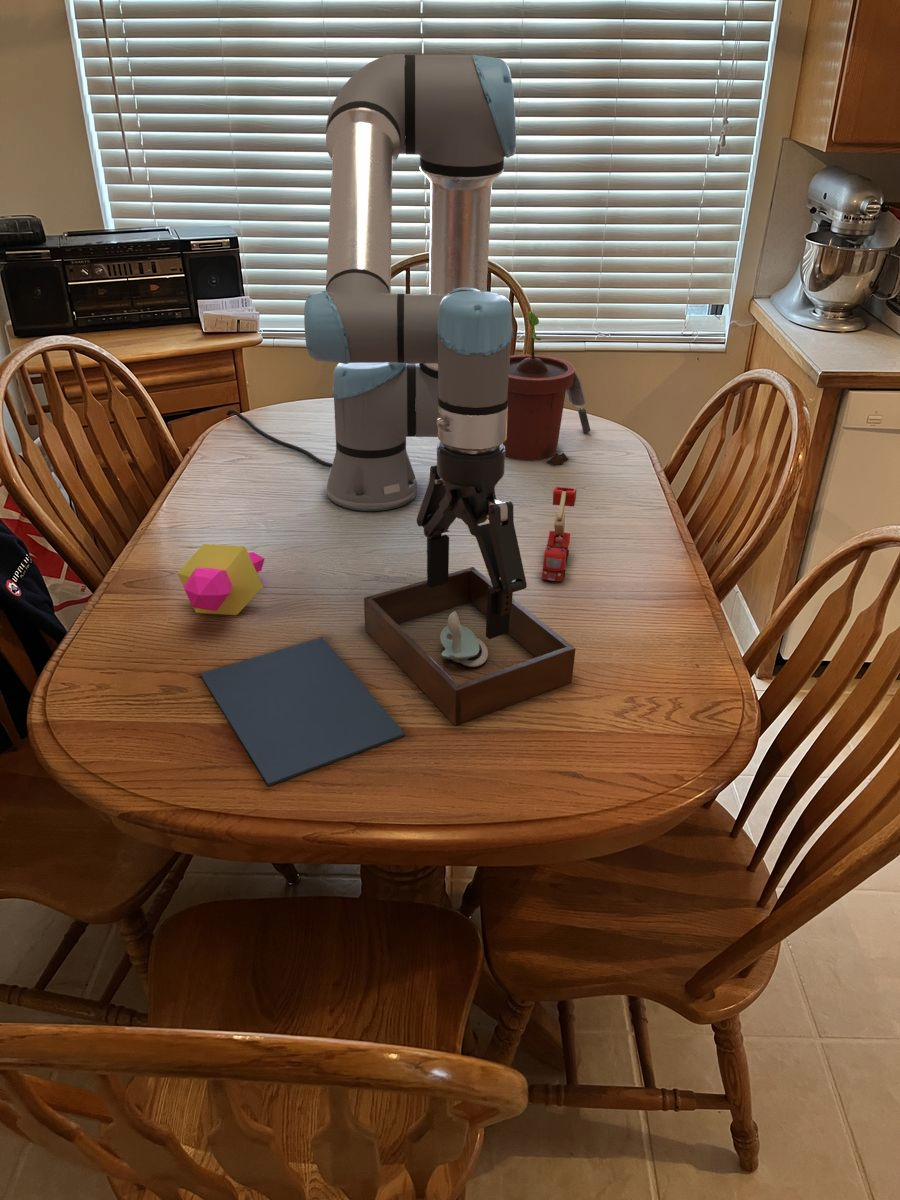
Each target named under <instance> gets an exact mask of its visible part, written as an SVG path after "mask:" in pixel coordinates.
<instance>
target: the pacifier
mask: <svg viewBox="0 0 900 1200" xmlns="http://www.w3.org/2000/svg"><path fill="white" fill-rule="evenodd" d="M439 636H440V637H439V639H440V644H441V646H442V647H443V649H444V650H442V651H441V657H442V658H443V659H446V660H451V661H452V662H453V663H456V664H462V665H463V666H466V667H468V668H477V667H480V666H482V665H483V664H484V663H486V661H487V660H488V657H489V649H488V647H487V645H486V643H485V642H484V641H482V640H481V639H480V638H478V637H477V636H476V634H475V633H474V632H473V630H471V628H469V627H468V626H465V625H463V624H461V622H460V618H459V615H458V613H457V611H453V612H451V613H450V614H449V615H448V618H447V625H446V626H445V627H444V628H442V630H441V632H440V635H439ZM448 636H450V637H451V639H449V638H448ZM480 652H481V653H480ZM479 653H480V656H479V657H478V658H476V659H473V660H472V659H471V658H474V657H477V656H478V655H479ZM470 659H471V660H470Z"/></svg>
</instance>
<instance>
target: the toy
mask: <svg viewBox="0 0 900 1200" xmlns="http://www.w3.org/2000/svg"><path fill="white" fill-rule="evenodd" d="M264 562H265V557H263V556H262V555H259V554H258V553H256V552H255V551H250V552H249V551H248V550H247V548H246V546H245V545H228V544H211V543H210V544H209V543H203V544H202V545H201V546H200V547H199V548H198V549H197V551H196V552H194V554H193V555H192V556H191V557H190V558H189V559H188V561H186V563H185V564H183V566H182V567H181V568H180V570H178V572H177V576H178V578H179V580H180V582H181V584H182V586H183V589H184V591H185V594H186V596H187V598H188V600H189V602H190V604H191V606H192V608H193V610H194V612H195V613H196V614H209V615H223V616H224V615H226V616H238V614H240V613H241V611H242V610H243V609H244V608H245V607H246V606H247V605H248V604H249V603H250V602H251V601H252V600H253V599H254V597H255V596H256V595H257V594H258V593H259V592H260V591H261V590H262V589H263V588H264V585H263V583H262V580H261V579H260V576H259V574H258V573H259V572H261V571H262V570H263V567H264Z"/></svg>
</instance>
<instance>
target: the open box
mask: <svg viewBox="0 0 900 1200" xmlns="http://www.w3.org/2000/svg"><path fill="white" fill-rule="evenodd" d="M491 586H493V585H492V583H491V580H490V578H488V577H487V576H486V575H484V574H483V573H482V572H481V571H479V570H478V569H477V568H476V567H474V566H470V567H467V568H464V569H461V570H457V571H454V572H453V571H452V572H450V573H448V583H445V584H442V585H438V586H435V587H431V588H430V587H428V586H427V579H425V580H422V581H418V582H415V583H411V584H407V585H403V586H400V587H397V588H394V589H390V590H386V591H383V592H380V593H376V594H372V595H369V596H365V597H363V609H364V631H365V632H366V633H367V634H368V635H369V636H370V637H371V638H372V639H373V641H375V643H377V644H378V646H380V648H381V649H382V650H383V651H384V652H385V653H386V654H387V655H388V657H390V658H391V659H392V660H393V662H394V663H395V664H396V665H397V666H398V667H399V668H400V669H401V670H402V671H403V672H404V674H406V675H407V677H408V678H410V680H411V681H412V682H413V683H414V684H415V685H416V686H417V687H418V688H419V689H420V690H421V691H422V692H423V694H424V695H425V696H426V697H428V699H429V700H430V701H431V702H432V703H433V704H434V706H436V707H437V708H438V709H439V710H440V712H441V713H442V714H443V715H444V716H445V717H446V718H447V719H448V720H449V721H450V722H451V723H452V724H453V725H454V726H459V725H461V724H463V723H467V722H470V721H472V720H475V719H477V718H480V717H483V716H485V715H488V714H490V713H493V712H496V711H498V710H501V709H503V708H506V707H509V706H512V705H515V704H517V703H520V702H523V701H526V700H528V699H530V698H533V697H536V696H539V695H541V694H544V693H547V692H550V691H552V690H554V689H557V688H560V687H563V686H566V685H568V684H571V683H573V675H574V666H575V656H576V647H575V646H573V645H572V644H571V643H569V642H568V641H567V640H566V639H565V638H564V637H562V636H561V635H559V634H558V633H557V632H556V631H554V630H553V629H552V628H551V627H550V626H548V624H546V623H544V622H543V621H542V620H540V619H539V618H538V617H537V616H536V615H534V613H533V612H531V611H529V610H528V609H527V608H525V606H523V605H522V604H521V603H519V601H517V600H516V599H515V598H514V597H512V611H511V613H510V620H509V633H507V634H508V635H509V636H510V637H511V638H512V639H513V640H514V641H515V642H517V643H518V644H519V645H520V646H522V648H523V649H525V650H526V651H527V652H529V654H531V655H532V656H533V657H534V658H531V659H528V660H525V661H523V662H519V663H517V664H514V665H512V666H509V667H505V668H502V669H501V670H500V669H499V670H498V671H495V672H494V671H493V672H491V673H489V674H485V675H483V676H480V677H477V678H474V679H472V680H468V681H466V682H463V683H460V684H458V683H457V682H456V681H455V680H454V679H453V678H452V677H451V675H449V674H448V673H447V672H446V671H445V670H444V669H443V668H442V667H441V666H440V665H439V664H438V663H437V662H436V661H435V660H434V659H433V658H432V657H431V656H430V655H429V654H428V653H427V652H426V651H425V650H424V648H422V647H421V646H420V645H419V644H418V643H417V642H416V641H415V640H414V639H413V638H412V637H411V636H410V635H409V634H408V633H407V632H406V631H405V630H404V629H403V628H402V627H401V626H400V625H399V624H401V623H405V622H408V621H411V620H414V619H417V618H421V617H424V616H428V615H431V614H435V613H437V612H441V611H444V610H449V609H452V608H453V607H457V606H460V605H464V604H467V603H471V604H472V605H473V606H475V608H477V610H479V611H480V612H481V613H483V615H485V616H486V617H487V598H488V587H491Z"/></svg>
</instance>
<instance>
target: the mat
mask: <svg viewBox="0 0 900 1200" xmlns="http://www.w3.org/2000/svg"><path fill="white" fill-rule="evenodd" d="M199 676H200V678H201V679H202V681H203V682H204V684H205V686H206V688H207V690H208V691H209V692H210V693H211V696H212V697H213V699H214V701H215V702H216V704H217V705H218V707H219V709H220V711H221V712H222V714H223V715H224V717H225V719H226V720H227V722H228V723H229V725H230V726H231V728H232V730H233V731H234V733H235V735H236V736H237V738H238V739H239V742H240V743H241V745H242V746H243V748H244V749H245V751H246V753H247V754H248V756H249V757H250V759H251V761H252V763H253V764H254V766H255V767H256V769H257V770H258V772H259V773H260V775H261V777H262V779H263V780H264V782H265V784H266V785H267V786H268V787H270V786H274V785H275V784H279V783H281V782H284V781H287V780H289V779H292V778H296V777H298V776H301V775H303V774H306V773H309V772H311V771H314V770H317V769H319V768H322V767H325V766H327V765H330V764H333V763H335V762H338V761H340V760H343V759H344V760H345V759H346V758H350V757H351V756H355V755H357V754H360V753H363V752H365V751H368V750H371V749H373V748H376V747H379V746H381V745H384V744H388V743H389V742H392V741H395V740H398V739H401V738H404V737H405V736H406V733H405V732H404V731H403V729H402V728H401V727H400V726H399V725H398V724H397V722H396V721H395V720H394V719H393V718H392V717H391V715H390V714H389V713H388V712H387V711H386V709H385V708H384V707H383V706H382V705H381V703H380V702H379V701H378V700H377V699H376V698H375V697H374V696H373V694H372V693H371V692H370V691H369V689H368V688H367V687H366V686H365V685H364V684H363V682H362V681H360V679H359V678H358V676H356V674H354V672H353V671H352V670H351V668H349V666H348V665H347V664H346V663H345V662H344V660H343V659H342V658H341V657H340V656H339V654H338V653H337V652H336V651H335V650H334V649H333V648H332V646H331V645H330V644H329V643H328V641H326V639H325V638H324V637H318V638H314V639H311V640H309V641H305V642H301V643H299V644H295V645H292V646H289V647H284V648H280V649H278V650H275V651H271V652H268V653H265V654H262V655H261V654H260V655H257V656H254V657H251V658H248V659H245V660H244V659H243V660H241V661H238V662H235V663H231V664H228V665H224V666H221V667H218V668H214V669H211V670H208V671H204V672H202V673H200V675H199Z"/></svg>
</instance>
